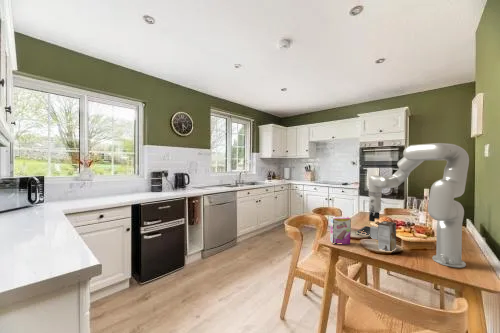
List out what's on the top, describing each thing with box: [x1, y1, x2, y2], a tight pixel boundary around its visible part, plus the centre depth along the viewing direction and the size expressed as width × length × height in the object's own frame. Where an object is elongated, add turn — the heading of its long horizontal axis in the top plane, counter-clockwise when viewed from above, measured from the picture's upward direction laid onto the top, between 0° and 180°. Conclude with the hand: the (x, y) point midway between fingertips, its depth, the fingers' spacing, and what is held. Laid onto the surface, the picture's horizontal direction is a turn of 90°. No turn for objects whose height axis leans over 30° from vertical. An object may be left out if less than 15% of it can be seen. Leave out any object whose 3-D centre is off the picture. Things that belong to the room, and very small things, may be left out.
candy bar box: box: [329, 216, 352, 245], centre depth 140 cm, size 11×5×16 cm, turn 91°
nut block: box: [369, 225, 378, 241], centre depth 149 cm, size 4×4×8 cm
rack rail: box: [357, 226, 371, 235], centre depth 161 cm, size 20×8×2 cm, turn 135°
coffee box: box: [377, 220, 397, 251], centre depth 128 cm, size 9×6×16 cm
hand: (374, 219), depth 149 cm, fingers open, 9 cm apart
